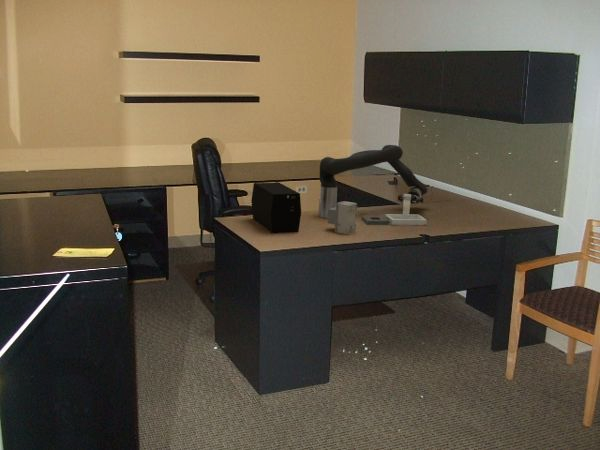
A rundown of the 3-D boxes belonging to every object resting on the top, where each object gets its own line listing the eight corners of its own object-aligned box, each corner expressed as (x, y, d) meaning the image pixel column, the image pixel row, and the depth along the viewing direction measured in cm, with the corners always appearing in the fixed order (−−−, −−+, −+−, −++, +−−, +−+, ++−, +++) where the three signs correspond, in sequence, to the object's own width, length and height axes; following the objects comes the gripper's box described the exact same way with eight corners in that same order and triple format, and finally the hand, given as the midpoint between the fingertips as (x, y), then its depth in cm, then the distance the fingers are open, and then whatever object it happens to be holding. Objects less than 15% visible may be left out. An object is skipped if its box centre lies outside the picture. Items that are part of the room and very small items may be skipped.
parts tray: (391, 225, 357) (392, 220, 357) (384, 219, 370) (385, 214, 370) (426, 225, 361) (426, 220, 360) (418, 219, 374) (418, 214, 373)
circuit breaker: (332, 227, 348) (333, 199, 345) (355, 231, 341) (357, 203, 337) (324, 229, 342) (325, 201, 339) (348, 234, 335) (350, 205, 331)
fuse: (402, 221, 363) (405, 195, 360) (400, 220, 367) (402, 193, 363) (409, 221, 364) (412, 195, 360) (407, 220, 368) (409, 193, 364)
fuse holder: (367, 224, 357) (367, 221, 356) (361, 219, 368) (361, 215, 368) (388, 224, 359) (388, 221, 358) (382, 219, 370) (382, 216, 370)
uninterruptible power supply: (279, 217, 365) (280, 182, 360) (301, 232, 334) (303, 194, 330) (250, 219, 359) (251, 182, 354) (271, 234, 328) (272, 195, 324)
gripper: (401, 188, 384) (396, 193, 370) (426, 190, 380) (422, 195, 365) (401, 201, 386) (395, 206, 371) (425, 203, 382) (421, 208, 367)
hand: (408, 201), depth 368 cm, fingers open, 8 cm apart
